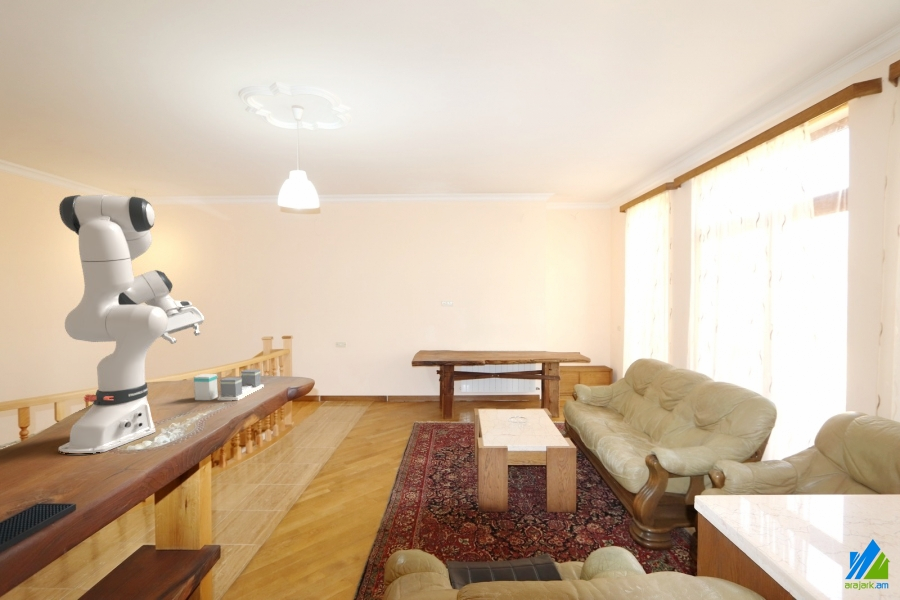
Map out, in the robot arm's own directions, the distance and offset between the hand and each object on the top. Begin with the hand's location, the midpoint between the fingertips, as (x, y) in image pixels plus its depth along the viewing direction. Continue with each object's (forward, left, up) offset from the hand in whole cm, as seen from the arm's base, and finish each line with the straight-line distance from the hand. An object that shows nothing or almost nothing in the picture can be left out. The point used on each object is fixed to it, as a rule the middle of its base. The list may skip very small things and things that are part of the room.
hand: (186, 338), depth 157 cm
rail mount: (+4, -19, -23) cm, 30 cm away
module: (-3, -9, -23) cm, 25 cm away
